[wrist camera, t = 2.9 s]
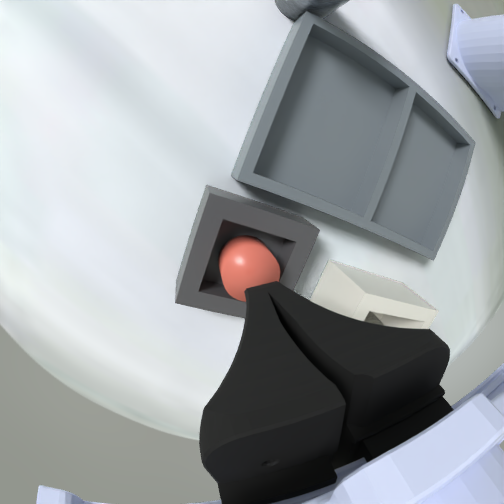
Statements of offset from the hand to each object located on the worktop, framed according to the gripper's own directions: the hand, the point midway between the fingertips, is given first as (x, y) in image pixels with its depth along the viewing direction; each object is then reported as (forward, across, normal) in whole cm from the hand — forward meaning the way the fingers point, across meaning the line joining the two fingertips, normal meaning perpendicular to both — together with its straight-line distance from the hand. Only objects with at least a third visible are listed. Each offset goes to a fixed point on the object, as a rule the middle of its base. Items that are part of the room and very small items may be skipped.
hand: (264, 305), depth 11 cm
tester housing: (+6, 0, 0) cm, 6 cm away
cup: (+6, -7, +8) cm, 12 cm away
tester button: (+5, 0, 0) cm, 5 cm away
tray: (+6, -10, -5) cm, 13 cm away
